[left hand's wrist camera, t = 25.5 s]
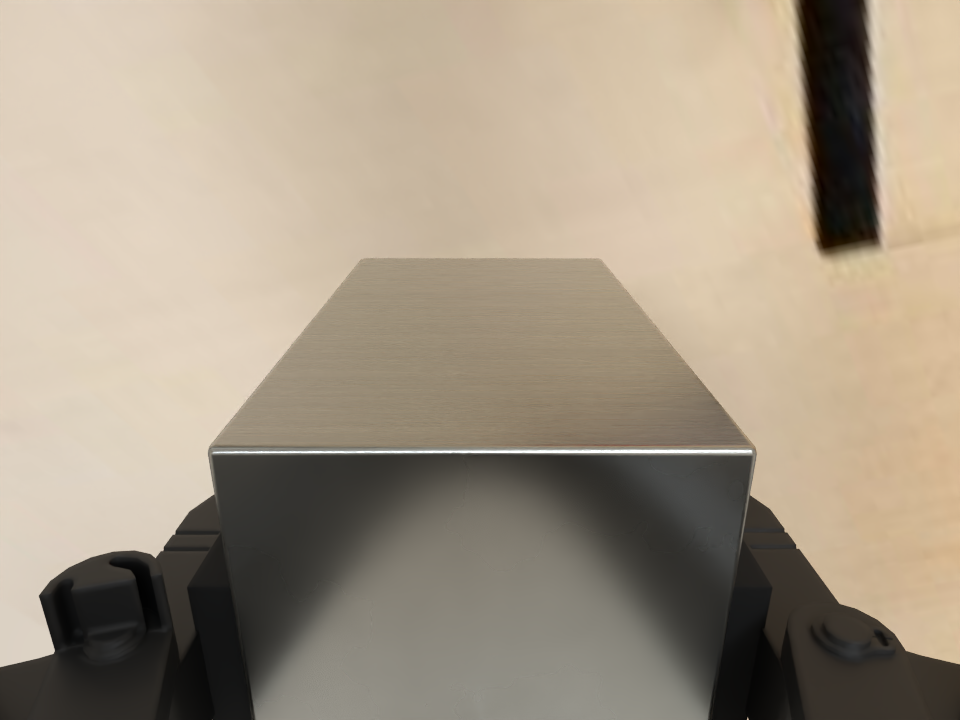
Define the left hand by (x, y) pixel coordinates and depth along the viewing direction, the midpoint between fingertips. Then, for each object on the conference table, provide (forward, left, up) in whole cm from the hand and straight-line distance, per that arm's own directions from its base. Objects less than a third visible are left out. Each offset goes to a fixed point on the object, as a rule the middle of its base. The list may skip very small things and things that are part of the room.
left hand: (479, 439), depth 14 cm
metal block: (0, 0, -2) cm, 2 cm away
